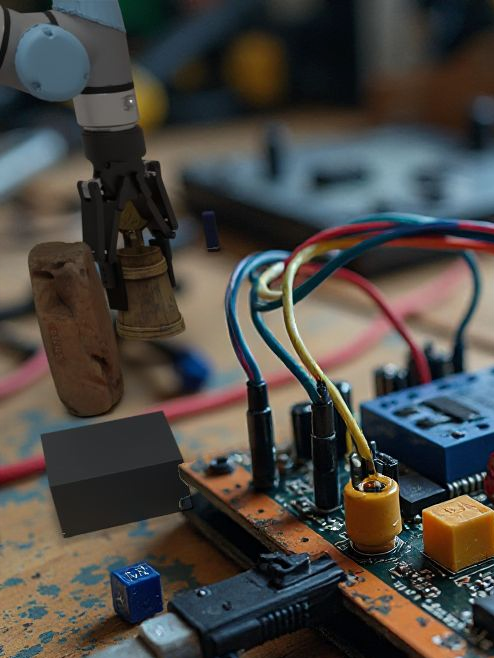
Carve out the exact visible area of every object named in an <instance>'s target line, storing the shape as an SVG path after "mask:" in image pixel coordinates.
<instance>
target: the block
mask: <svg viewBox="0 0 494 658" xmlns="http://www.w3.org/2000/svg"><path fill="white" fill-rule="evenodd" d="M92 252H93V251H91V249H90V247H89V246H88V245H87V244H86V243H85V242H83V241H74V242H65V241H59V240H58V241H57V240H55V241H45V242H41V243H37V244H35V245H34V246H33V247H32V248H31V250H30V251H29V253H28V256H27V266H28V267H27V268H28V273H29V278H30V284H31V288H32V289H31V290H32V291H31V292H32V297H33V303H34V309H35V314H36V319H37V323H38V327H39V331H40V336H41V341H42V344H43V348H44V352H45V356H46V360H47V364H48V367H49V372H50V374H51V378H52V381H53V384H54V387H55V391H56V394H57V396H58V398H59V400H60V402H61V404H62V405H63V407H65V408H66V410H67V411H68V412H69V413H70V414H72V415H74V416H79V417H91V416H97V415H100V414H102V413H106V412H108V411H109V410H110V409H111V408H112V406H113V405H114V404H116V403H118V402H119V400H120V398H121V396H122V394H123V390H124V377H123V376H124V375H123V370H122V364H121V359H120V353H119V349H118V346H117V339H116V335H115V334H116V333H115V330H114V326H113V321H112V318H111V314H110V308H109V304H108V300H107V296H106V295H105V290H104V286H103V284H102V279H101V276H100V272H99V270H98V268H97V265H96V262H94V258H93V255H92Z"/></svg>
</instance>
